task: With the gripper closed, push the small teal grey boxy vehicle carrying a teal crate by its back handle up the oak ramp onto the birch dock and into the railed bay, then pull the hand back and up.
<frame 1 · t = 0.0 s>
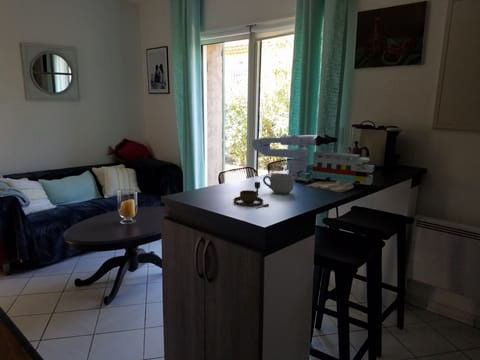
hand: (333, 140, 186), 22 cm above the table, tool horizontal, fingers open, 7 cm apart
place setting: (254, 202, 145), on the table
toy vehicle: (341, 182, 186), on the table
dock: (328, 186, 175), on the table
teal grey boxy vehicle: (303, 182, 184), on the table
teacup: (277, 193, 160), on the table
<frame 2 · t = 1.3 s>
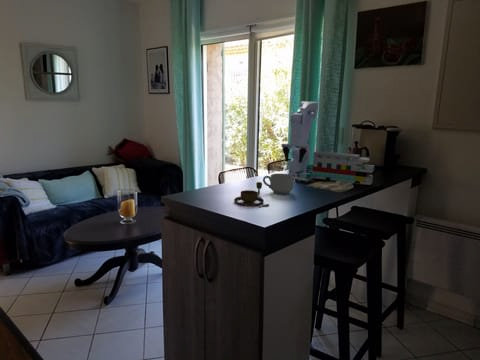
hand: (293, 162, 185), 10 cm above the table, tool pointing down, fingers open, 7 cm apart
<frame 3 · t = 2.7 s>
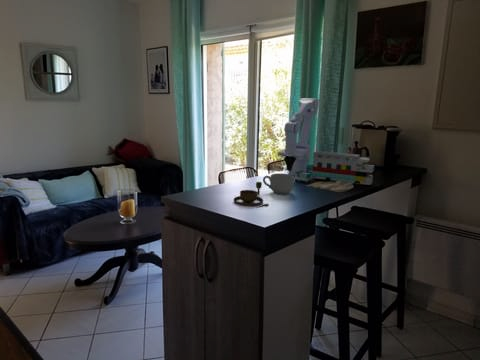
hand: (289, 170, 188), 5 cm above the table, tool pointing down, fingers closed
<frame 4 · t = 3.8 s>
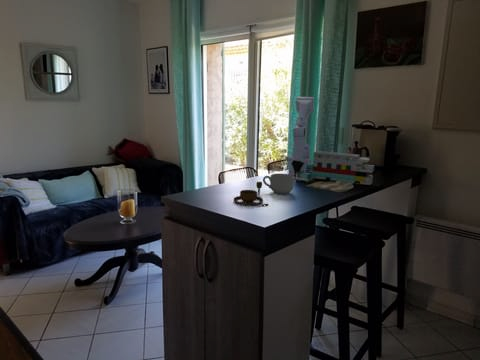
hand: (296, 175, 186), 3 cm above the table, tool pointing down, fingers closed
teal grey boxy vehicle: (304, 182, 183), on the table, touching gripper
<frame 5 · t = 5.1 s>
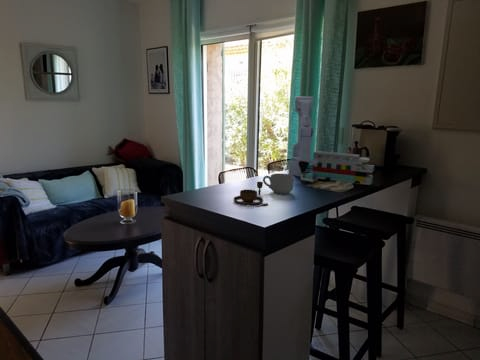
hand: (302, 176, 183), 3 cm above the table, tool pointing down, fingers closed, pressing on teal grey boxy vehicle
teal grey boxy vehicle: (309, 182, 182), on the table, touching gripper
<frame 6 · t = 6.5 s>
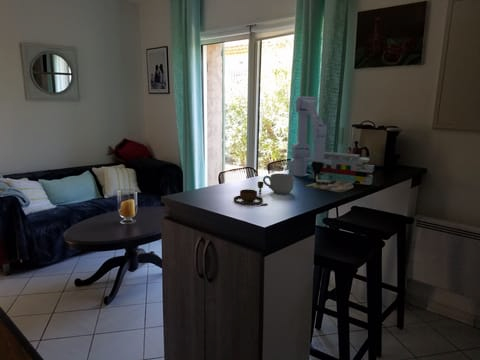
hand: (316, 177, 178), 4 cm above the table, tool pointing down, fingers closed
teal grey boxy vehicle: (325, 184, 176), point 1 cm above the table, tilted 6°, touching gripper
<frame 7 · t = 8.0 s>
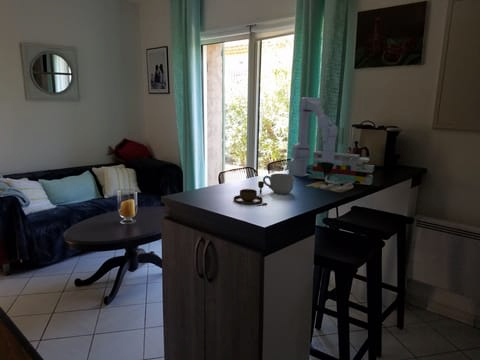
hand: (326, 177, 175), 4 cm above the table, tool pointing down, fingers closed
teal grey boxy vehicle: (334, 185, 173), point 1 cm above the table, touching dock, gripper
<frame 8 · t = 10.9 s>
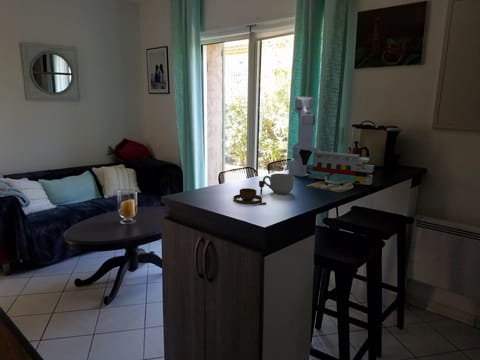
hand: (304, 165, 180), 9 cm above the table, tool pointing down, fingers closed
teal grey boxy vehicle: (334, 185, 173), point 1 cm above the table, touching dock
at the end: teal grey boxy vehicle inside the target area (1.6 cm from its centre), point 1.2 cm above the table; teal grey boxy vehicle tilted 0° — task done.
